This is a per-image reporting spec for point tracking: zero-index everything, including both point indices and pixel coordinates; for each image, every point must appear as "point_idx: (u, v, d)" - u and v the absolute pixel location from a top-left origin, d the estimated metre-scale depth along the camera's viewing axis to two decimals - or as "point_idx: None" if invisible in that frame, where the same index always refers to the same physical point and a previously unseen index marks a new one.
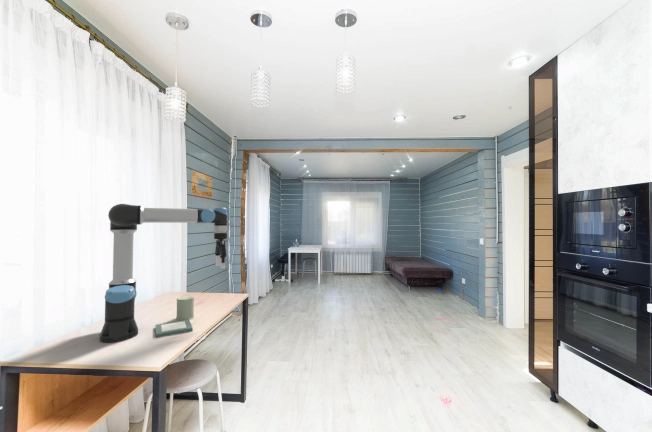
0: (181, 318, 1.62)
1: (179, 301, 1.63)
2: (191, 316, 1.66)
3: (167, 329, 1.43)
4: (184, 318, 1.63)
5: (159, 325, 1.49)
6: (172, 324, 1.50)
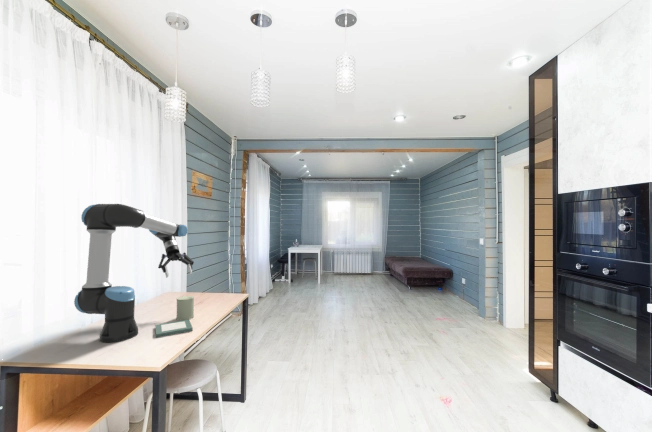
0: (181, 318, 1.62)
1: (179, 301, 1.63)
2: (191, 316, 1.66)
3: (167, 329, 1.43)
4: (184, 318, 1.63)
5: (159, 325, 1.49)
6: (172, 324, 1.50)
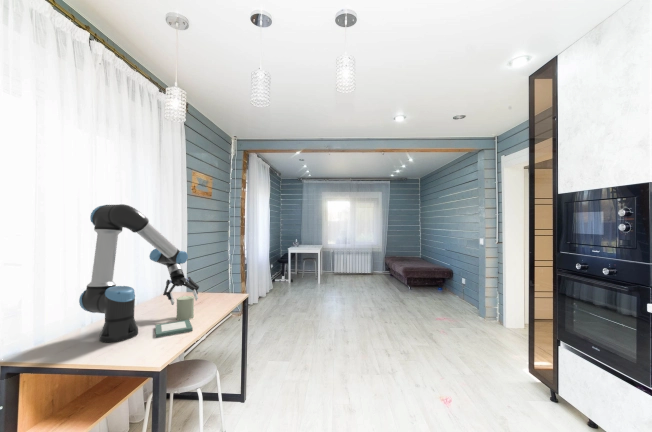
0: (181, 318, 1.62)
1: (179, 301, 1.63)
2: (191, 316, 1.66)
3: (167, 329, 1.43)
4: (184, 318, 1.63)
5: (159, 325, 1.49)
6: (172, 324, 1.50)
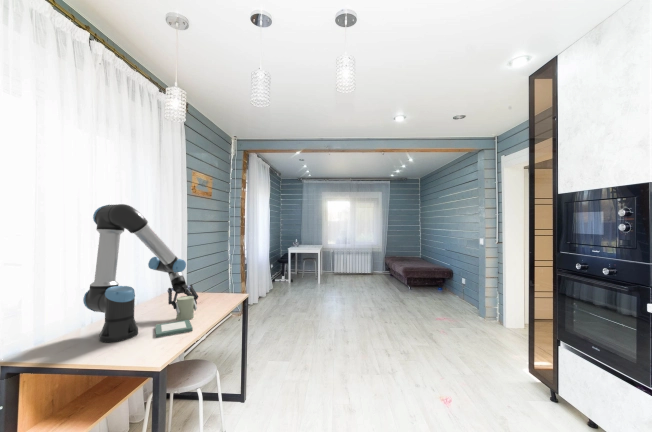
0: (181, 318, 1.62)
1: (179, 301, 1.63)
2: (191, 316, 1.66)
3: (167, 329, 1.43)
4: (184, 318, 1.63)
5: (159, 325, 1.49)
6: (172, 324, 1.50)
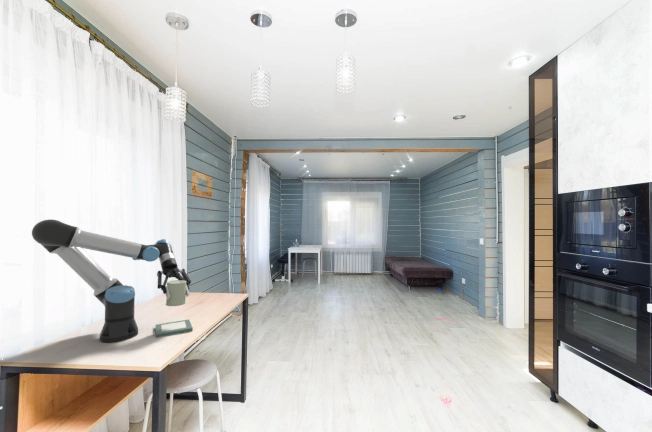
0: (171, 304, 1.46)
1: (170, 285, 1.47)
2: (183, 302, 1.49)
3: (167, 329, 1.43)
4: (175, 304, 1.46)
5: (159, 325, 1.49)
6: (172, 324, 1.50)
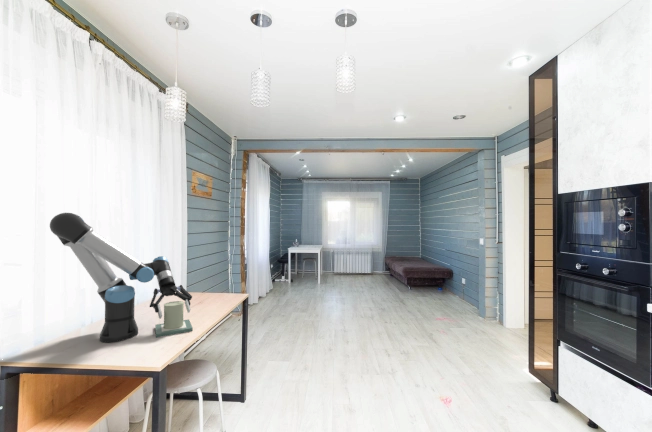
0: (169, 327, 1.44)
1: (166, 307, 1.44)
2: (180, 324, 1.47)
3: (167, 329, 1.43)
4: (172, 327, 1.44)
5: (159, 325, 1.49)
6: None
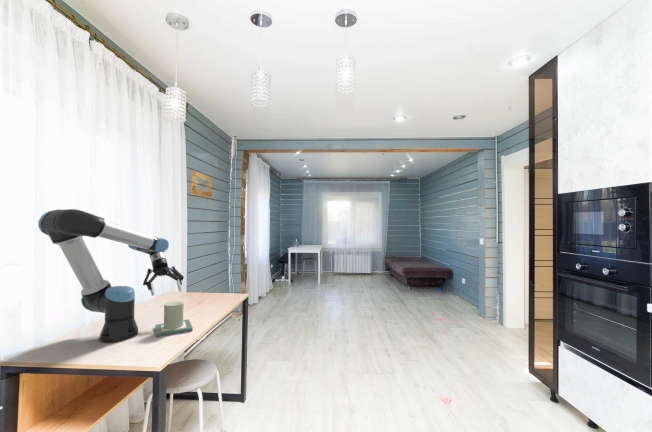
0: (169, 327, 1.44)
1: (167, 307, 1.44)
2: (180, 324, 1.47)
3: (167, 329, 1.43)
4: (172, 327, 1.44)
5: (159, 325, 1.49)
6: None
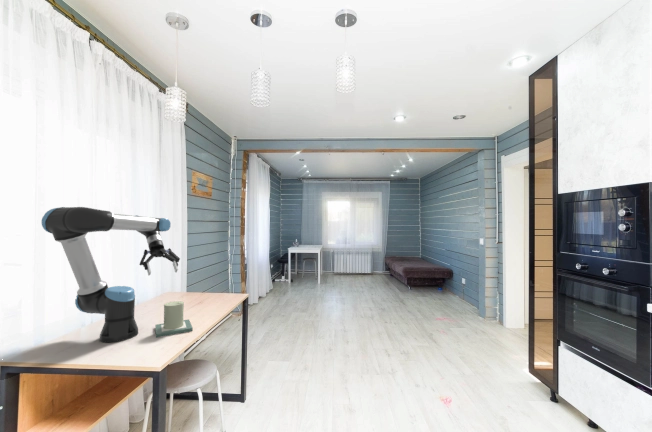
0: (169, 327, 1.44)
1: (167, 307, 1.44)
2: (180, 324, 1.47)
3: (167, 329, 1.43)
4: (172, 327, 1.44)
5: (159, 325, 1.49)
6: None
